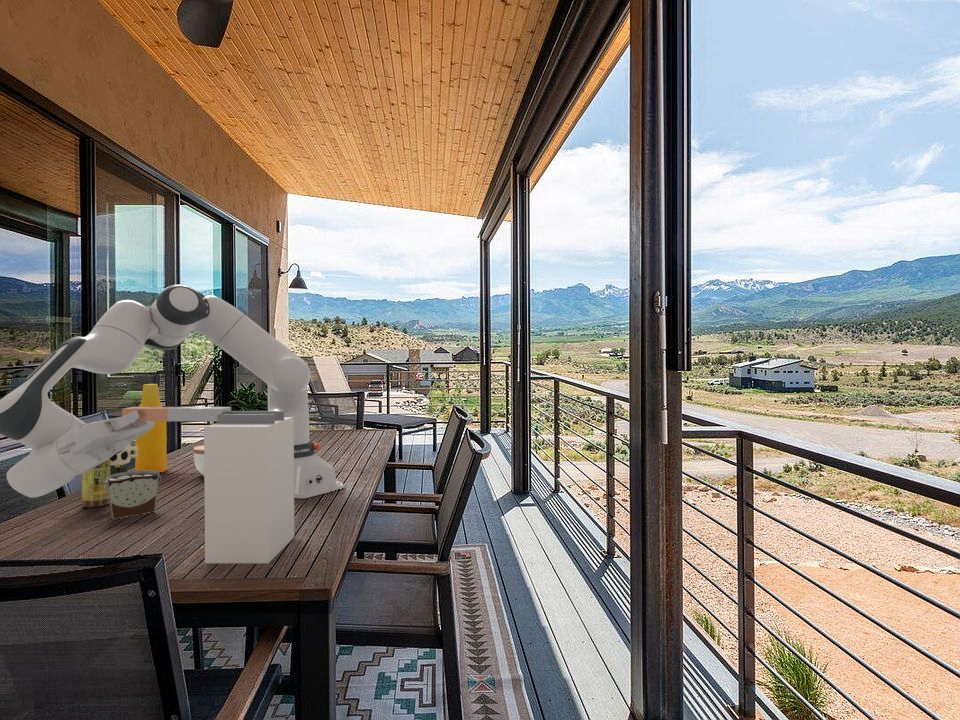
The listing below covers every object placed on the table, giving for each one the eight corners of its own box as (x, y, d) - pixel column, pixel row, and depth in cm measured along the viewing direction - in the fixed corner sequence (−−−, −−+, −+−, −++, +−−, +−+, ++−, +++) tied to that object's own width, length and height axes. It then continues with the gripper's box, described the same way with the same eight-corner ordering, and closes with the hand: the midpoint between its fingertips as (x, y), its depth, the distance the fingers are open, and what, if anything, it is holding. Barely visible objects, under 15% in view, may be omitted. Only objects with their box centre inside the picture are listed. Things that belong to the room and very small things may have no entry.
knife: (122, 421, 120) (122, 408, 120) (133, 418, 124) (133, 406, 124) (222, 421, 120) (222, 408, 120) (231, 418, 124) (231, 406, 124)
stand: (205, 563, 115) (203, 417, 114) (238, 537, 131) (237, 408, 130) (268, 563, 115) (267, 417, 114) (294, 537, 131) (293, 408, 130)
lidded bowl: (192, 480, 187) (192, 444, 187) (194, 472, 199) (194, 439, 198) (236, 477, 192) (236, 442, 192) (235, 469, 204) (235, 437, 203)
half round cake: (154, 506, 156) (153, 468, 156) (161, 511, 152) (161, 471, 151) (98, 515, 147) (98, 475, 147) (105, 521, 143) (104, 478, 143)
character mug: (97, 491, 173) (97, 445, 173) (93, 486, 178) (93, 442, 178) (140, 485, 180) (140, 442, 180) (135, 481, 185) (134, 439, 185)
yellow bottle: (151, 468, 206) (150, 383, 206) (173, 469, 203) (172, 383, 203) (128, 473, 197) (127, 384, 197) (151, 475, 195) (150, 385, 194)
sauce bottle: (96, 509, 153) (95, 431, 153) (75, 507, 155) (74, 430, 154) (116, 502, 160) (115, 427, 159) (96, 501, 161) (95, 427, 161)
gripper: (42, 440, 112) (106, 403, 112) (110, 426, 132) (164, 394, 132) (59, 469, 112) (124, 432, 112) (124, 451, 132) (179, 419, 132)
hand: (146, 411), depth 122 cm, fingers closed on knife, 4 cm apart
